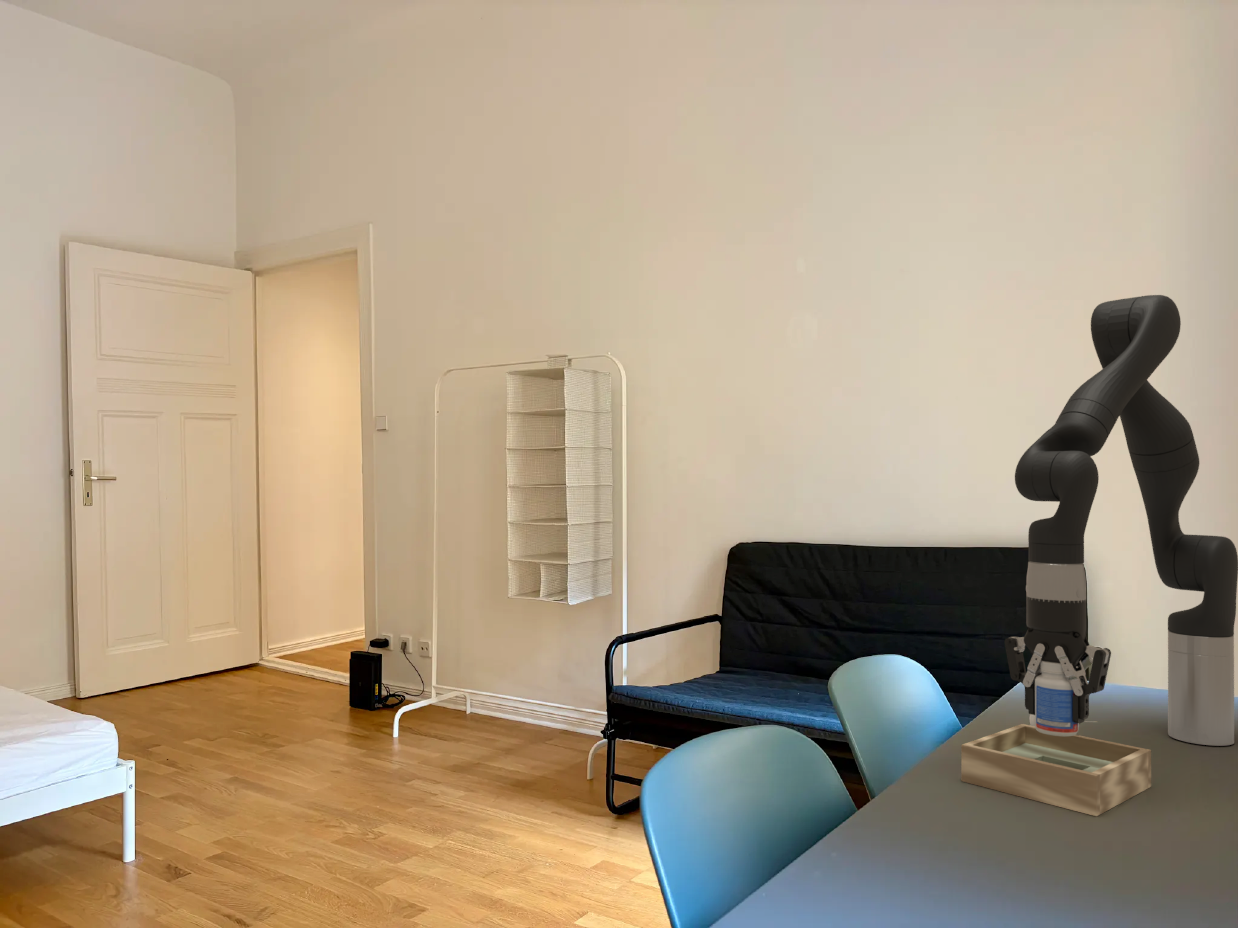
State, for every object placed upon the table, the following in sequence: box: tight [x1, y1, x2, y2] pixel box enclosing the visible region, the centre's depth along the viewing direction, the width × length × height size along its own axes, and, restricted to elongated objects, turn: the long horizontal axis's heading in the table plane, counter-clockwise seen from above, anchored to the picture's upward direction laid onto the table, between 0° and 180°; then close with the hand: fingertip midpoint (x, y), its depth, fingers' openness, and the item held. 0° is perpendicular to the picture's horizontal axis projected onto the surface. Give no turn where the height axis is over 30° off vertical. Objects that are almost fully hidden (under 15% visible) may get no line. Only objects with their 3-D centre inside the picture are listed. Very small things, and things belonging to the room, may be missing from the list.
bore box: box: [960, 723, 1152, 817], centre depth 130 cm, size 18×18×5 cm
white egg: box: [1029, 714, 1098, 730], centre depth 149 cm, size 10×7×7 cm
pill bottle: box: [1035, 661, 1079, 737], centre depth 130 cm, size 6×5×10 cm
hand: (1056, 717), depth 130 cm, fingers closed on pill bottle, 5 cm apart
